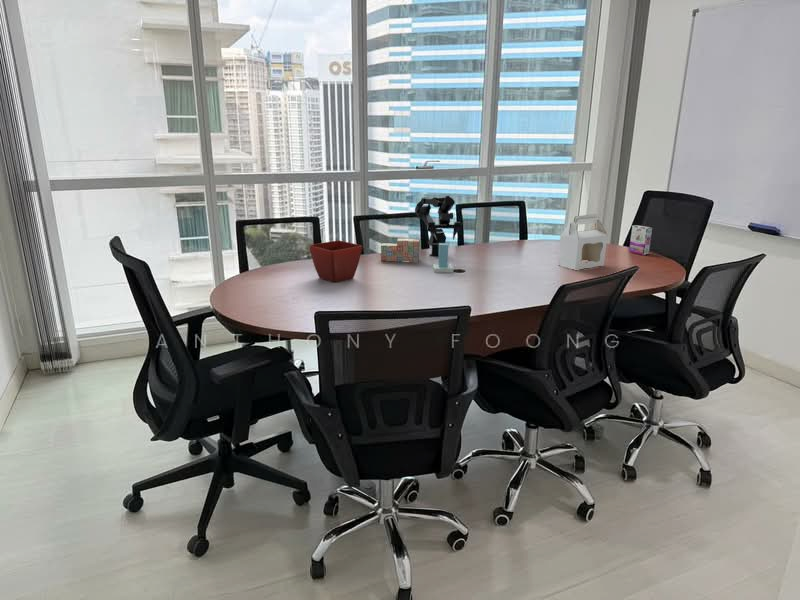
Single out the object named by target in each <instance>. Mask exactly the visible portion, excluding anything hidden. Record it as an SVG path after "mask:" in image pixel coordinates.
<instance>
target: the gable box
mask: <svg viewBox="0 0 800 600" xmlns="http://www.w3.org/2000/svg"><path fill="white" fill-rule="evenodd" d="M599 218H600V216H598V215H597V214H595V213H594V214H587V215H586V214H583V215H576V216H574V219H573V221H570V223H569V224H568V225H567V226H566V227H565V228H564V230H563V231H562V232H561V234H560V236H559V245H558V246H559V247H558V256H557V257H558V258H557V266H558V265H561V266H565V267H568V268H571V269H575V270H576V269H582V268H588V267H594V266H600V265H604V264H605V259H606V257H605V256H606V249H607V241H608V234H607V232H606V230H605V228H604V227H603V224H602V223H601V221H600V219H599ZM584 224H585V225H586V224H587V225H588V224H589V225H590V224H591V226H590V228H589V229H587V230H581V231H578V228H577V226H579V225H584ZM582 260H588V261H589V262H586V263H585V264H582V263H581V261H582ZM561 266H560V267H561ZM604 266H605V265H604ZM571 269H570V270H571Z"/></svg>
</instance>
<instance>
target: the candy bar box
mask: <svg viewBox="0 0 800 600" xmlns="http://www.w3.org/2000/svg"><path fill="white" fill-rule="evenodd" d="M652 233H653V227H650V226H644V225H638V224H637V225H636V224H635V225H632V226H631V234H630V241H629V248H628V252H629V251H630V252H629V253H631V252H633V253H632V254H635V253H638V254H637V255H640V254H642V255H641V256H647V255H646V254H650V247H651V240H652V235H653V234H652Z"/></svg>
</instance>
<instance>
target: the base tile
mask: <svg viewBox="0 0 800 600" xmlns="http://www.w3.org/2000/svg"><path fill="white" fill-rule="evenodd" d="M432 270H433V272H434V273H454V267H453V264H452V263H448V267H439V266H438V263H432Z"/></svg>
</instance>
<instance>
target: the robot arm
mask: <svg viewBox="0 0 800 600" xmlns="http://www.w3.org/2000/svg"><path fill="white" fill-rule="evenodd" d="M455 203H456V201H455V200H454V198H452V197H450V195H445V196H434V197H429V196H425V197H421V199H420V201H418V203H416V205H415V208H414V213H415V215H416V216H417V217H418V218H420V219H422V221H423V223H424V225H425V226H426V229H427V230H426V231H427V232H429V233H430V237H429V239H428V245H429V246H431V253H430V254H429V256H430V257H438V256H439V243H446V241H447V236H446V234H445V231H444V230H443V229H453V231H452V240H453V241H454V240H455V238H456V235H457V233H460V232H461V231H462V227H463V225H462V222H461V221H454V223H453V224H450V223H451V220H453V219H454V212H450V211H452V208H453V206H455ZM431 206H432V207H433V208H438V209H437V214H438V223H437V224H436V222H435V221H434V220H433V218H432V216H431V215H430V213H431V209H432V207H431Z"/></svg>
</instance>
